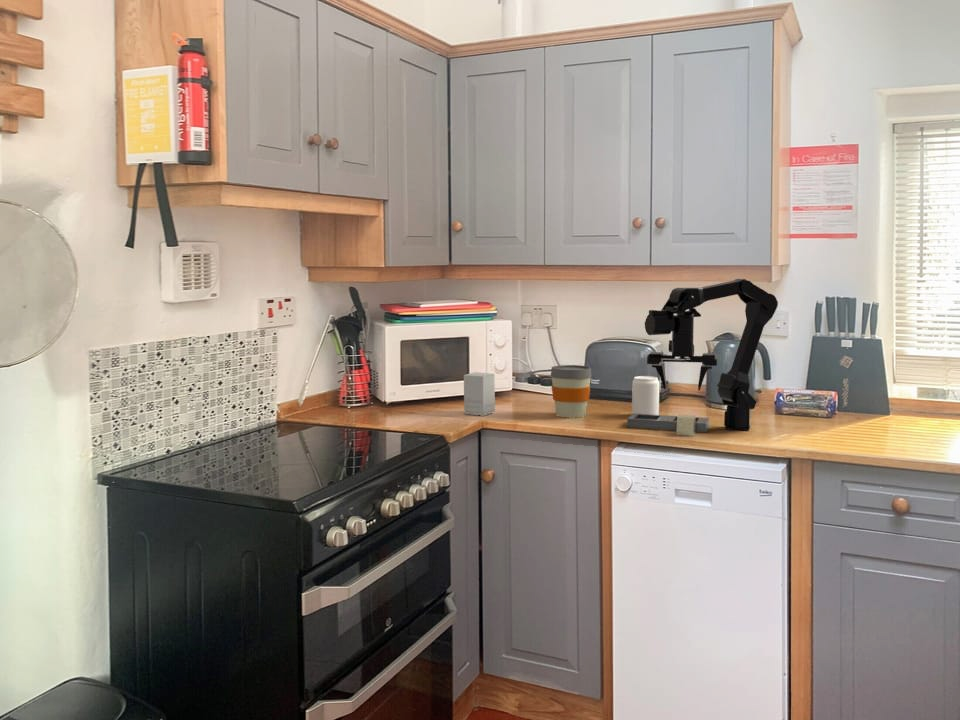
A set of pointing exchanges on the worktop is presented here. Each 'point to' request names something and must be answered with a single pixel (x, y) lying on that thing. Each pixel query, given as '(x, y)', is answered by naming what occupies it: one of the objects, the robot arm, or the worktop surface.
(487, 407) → the supplement box
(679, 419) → the block
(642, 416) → the grey compartment tray
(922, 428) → the worktop surface
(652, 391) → the beverage can
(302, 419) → the worktop surface
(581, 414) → the reusable coffee cup
